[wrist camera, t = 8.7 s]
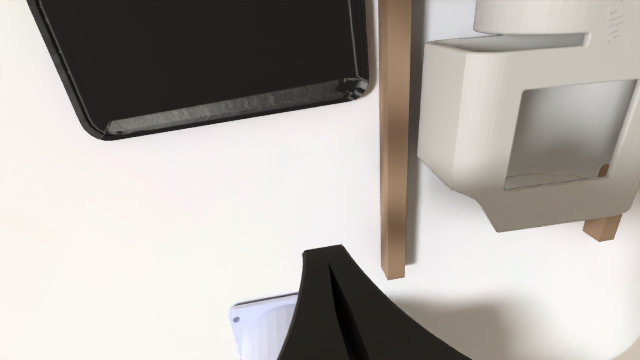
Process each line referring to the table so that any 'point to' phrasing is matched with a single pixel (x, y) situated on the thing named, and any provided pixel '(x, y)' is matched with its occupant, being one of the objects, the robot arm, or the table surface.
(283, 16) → the phone
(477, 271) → the table surface
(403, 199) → the rail channel
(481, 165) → the cable organizer
